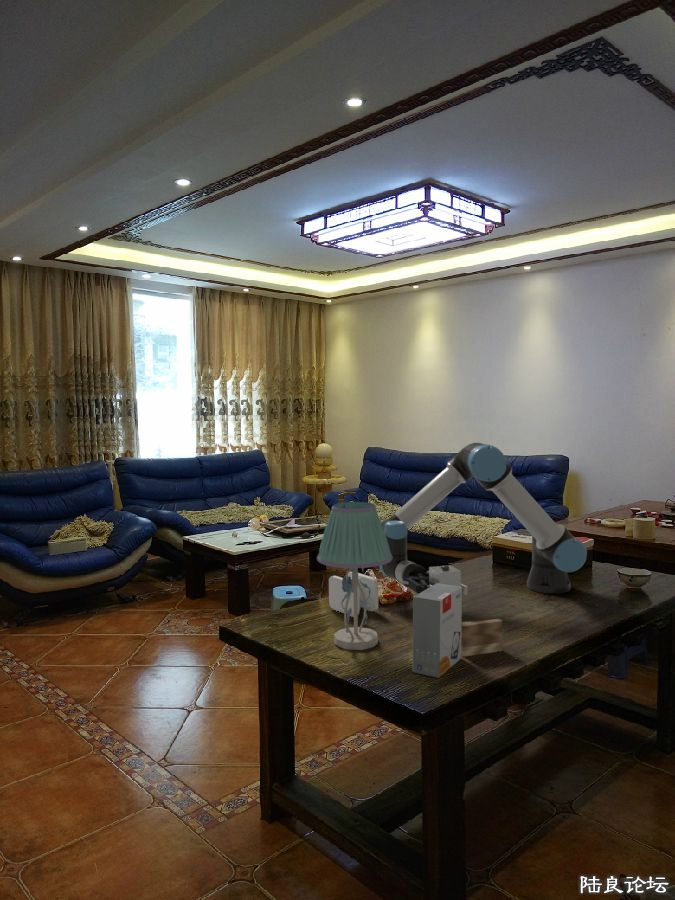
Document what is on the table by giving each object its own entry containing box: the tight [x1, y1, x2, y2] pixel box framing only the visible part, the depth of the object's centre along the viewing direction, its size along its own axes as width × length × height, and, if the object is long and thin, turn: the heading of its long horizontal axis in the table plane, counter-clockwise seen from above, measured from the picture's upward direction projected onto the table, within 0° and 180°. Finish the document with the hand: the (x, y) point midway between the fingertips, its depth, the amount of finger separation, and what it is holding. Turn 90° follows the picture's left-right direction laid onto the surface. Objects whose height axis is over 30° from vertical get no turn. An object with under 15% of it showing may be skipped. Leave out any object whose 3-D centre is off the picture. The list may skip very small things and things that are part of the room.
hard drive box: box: [411, 583, 463, 679], centre depth 171 cm, size 16×8×20 cm, turn 148°
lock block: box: [428, 564, 462, 587], centre depth 197 cm, size 7×7×15 cm
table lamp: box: [316, 501, 393, 651], centre depth 188 cm, size 22×22×40 cm
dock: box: [461, 618, 504, 658], centre depth 188 cm, size 12×18×8 cm, turn 17°
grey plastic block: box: [328, 571, 379, 618], centre depth 218 cm, size 15×11×12 cm
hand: (454, 592), depth 193 cm, fingers closed on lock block, 8 cm apart
